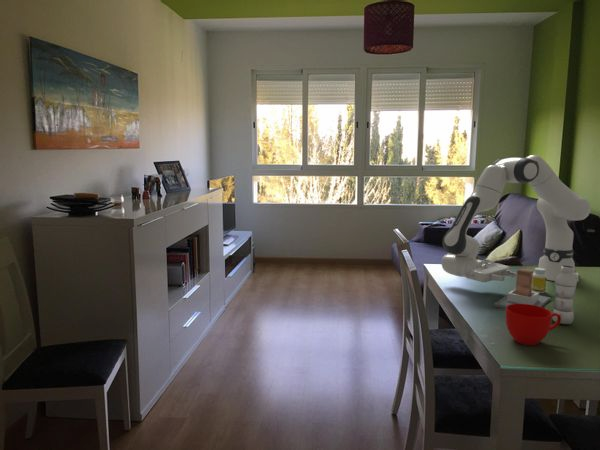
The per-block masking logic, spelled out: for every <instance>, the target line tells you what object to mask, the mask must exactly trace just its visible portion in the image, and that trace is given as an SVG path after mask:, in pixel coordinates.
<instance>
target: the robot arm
mask: <svg viewBox="0 0 600 450" xmlns="http://www.w3.org/2000/svg"><path fill="white" fill-rule="evenodd" d="M507 183H510V184H520V183H521V184H529V186H530V187H531V189H532V190H533V191H534V193H535V194H536V195H537V197H539V198H538V200H537V202H536V209H537V211H538V213H540V216H541V217H542V218H543V222H544V226H545V243H544V244H545V246H544V247H543V256H541V257H540V258H539V261H538V267H537V268H543V269H545V273H544V274H545V275H546V281H552V282H555V279H556V277H557V276H558V275H559V274H560V273H561V271H560V270H561V266H562V265H567V266H572V267H574V268H575V267H576V266H575V264H576V263H575V261H574V258H573V257H574V250H573V243H574V236H575V235H574V231H573V230H572V229H571V228H570V226H569V225H568V222H567V221H572V222H573V221H582V220H585V219H586V218H587V217H589V215H590V213H591V211H592V210H591V209H592V208H591V203H590V201H588V199H587V198H584V197H581V196H580V195H578V194H577V193H576V192H574V191H573V190H572V189H570V187H568V186H567V185H566V184H565V183H563V182H562V180H561V179H560V178H559V176H558V175H557V174H556V173H555V172H554V170H553V168H552V167H551V166H550V165H549V164H548V162H547V161H546V160H544V159H543V158H542V157H541V156H539V155H538V154H530V155H527V156H525V157H520V156H519V157H518V156H517V157H516V156H515V157H514V156H513V157H502V158H498V159H496V160H494V162H493V163H492V164H490V165H488V166H486V167H485V168H484V170H482V172H481V174H480V176H479V178H478V180H477V182H476V184H475V187H474V189H473V192H472V193H471V194H470V196H469V197H468V198H467V199H466V200H465V201H464V203H463V205H462V207H461V208H460V210H459V212H458V214H457V215H456V218H455V219H454V221H453V224H452V226H451V227H450V228H449V229H448V230H447V231H446V233H445V234H444V235H443V237H442V247H443V250H444V251H446V254H444V255H443V256H442V258H441V267H442V270H443V271H444V272H445V273H447V274H448V275H449V274H450V275H452V276H456V277H460V278H461V277H463V278H466V279H469V280H473V281H477V282H481V283H488V282H492V281H498V282H503V281H505V278H506V277H510V278H517V272H515V271H511V267H510V266H509V265H505V264H502V263H499V262H498V263H497V262H493V260H490V259H486V260H485V259H482V260H480V259H476V257H477V255H478V254H479V252H480V243H479V241H478V240H477V239H476V238H474V237H472V235H471V236H470V235H468V234H467V231H468V230H469V228H470V226H471V224H472V221H473V220H474V218H475V217H476V216H477V214H479V213H481V212H486V211H487V212H488V211H490V210H492V209H494V208H496V206H497V205H498V204H499V201H500V199H501V196H502V194H503V191H504V188H505V187H506V186H505V185H506V184H507ZM573 271H574V272H573V273H572V274H573V276H574V277H575V279H576V282H577V283H579V278H580V277H579V272H577V270H576V269H574V270H573ZM533 273H535V271H533Z"/></svg>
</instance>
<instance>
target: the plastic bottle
mask: <svg viewBox="0 0 600 450" xmlns="http://www.w3.org/2000/svg"><path fill="white" fill-rule="evenodd" d="M573 270H575V266H574V267H572V266H567V265H562V266H561V270H560V271H561V273H560V274H559V275H558V276H557V277H556V279H555V281H554V288H555V290H554V291H555V294H554V295H555V297H554V298H555V300H554V305H553V308H552V311H551V312H552V313H557V314H559V315H560V317H561V321H560V323H559V325H560V324H561V325H571V324H572V323H573V322H574V319H575V318H574V316H575V315H574V297H575V293H576V288H577V283H578V282H576V279H575V277H574V276H573V274H572V273H573V272H574V271H573ZM557 319H558V317H557V316H553V317H552V321H553V322H554V323H556V321H557Z"/></svg>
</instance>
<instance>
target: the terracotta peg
mask: <svg viewBox="0 0 600 450" xmlns="http://www.w3.org/2000/svg"><path fill="white" fill-rule="evenodd" d="M533 273H534V270H532V269H527V268H526V269H525V268H519V269H517V272H516V281H515V283H516V284H515V289H516V293H515V294H518V295H523V296H528V297H531V292H532V291H531V290H532V279H533Z"/></svg>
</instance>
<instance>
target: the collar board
mask: <svg viewBox="0 0 600 450" xmlns="http://www.w3.org/2000/svg"><path fill="white" fill-rule="evenodd" d="M515 293H516V288H513V289H512V290H510V291H509V292H507V294H506V295H505V296H503V297H502V298H500V299H499V300H497V301H496V302H494V303H493V307H494V308H500V309H503V310H506V307H507V306H508V305H511V304H529V305H535V306H539V307H542V308H543V307H544V306H546V304H547V303H548V302H550V301H551V297H549V296H547V295H546V296H545V295H540V293H537V292H532V291H531V297H528V296H523V295H518V294H515Z"/></svg>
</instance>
